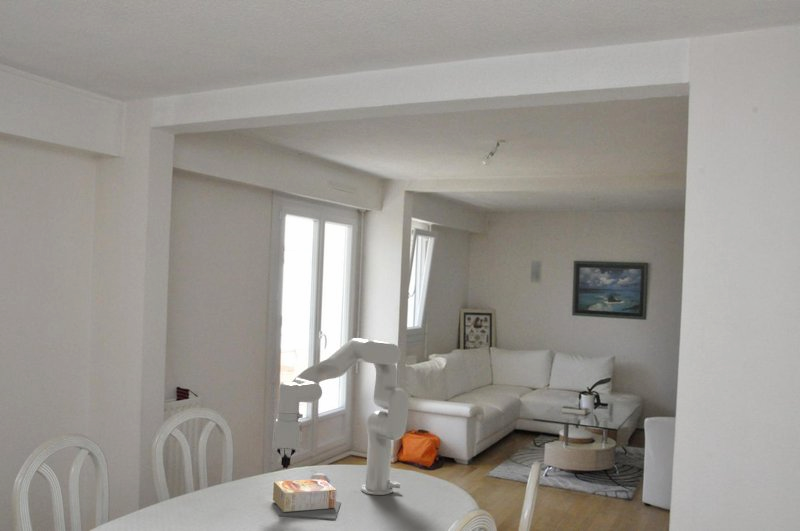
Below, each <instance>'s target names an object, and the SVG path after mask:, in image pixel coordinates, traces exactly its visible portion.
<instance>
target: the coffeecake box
mask: <svg viewBox="0 0 800 531" xmlns="http://www.w3.org/2000/svg"><path fill="white" fill-rule="evenodd" d="M272 501H273V502H274V503H275V504H276V505H277V506H278V507H279V508H280V510H281V509H282V510H283V512H291V511H303V510H316V509H329V508H335V505H336V502H337V489H336V488H335V487H334V486H332V484H331V483H330V484H329V483H328V482H327V481H326V480H324V479H313V480H309V479H300V480H299V479H297V480H285V481H284V480H282V481H281V480H280V481H279V480H278V481H273V492H272Z"/></svg>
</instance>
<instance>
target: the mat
mask: <svg viewBox="0 0 800 531" xmlns="http://www.w3.org/2000/svg"><path fill="white" fill-rule="evenodd" d="M341 503H342V502H341V501H336V505H335V508H329V509H316V510H303V511H291V512H283V510H282V509H281V508H280V511H279V512H278V517H287V518H300V519H301V518H302V519H313V520H314V519H315V520H327V521H328V520H329V521H336V519H337V516H338V513H339V510H340V508H341Z"/></svg>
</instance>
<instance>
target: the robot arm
mask: <svg viewBox="0 0 800 531" xmlns="http://www.w3.org/2000/svg"><path fill="white" fill-rule="evenodd" d="M401 357H402V351H401V349H400V347H399V346H398V345H397V344H395V343H391V342H385V341H382V340H380V341H379V340H371V339H365V338H360V337H353V338H351V339H349V340H348V341H347V342H346V343H345V344H343V345H342V346H341V347H339V349H338V350H336V351H335V352H334V353H333V354H331V355H330V356H329V357H328V358H326V359H324V360H322V361H320V362H317V363H315V364H313V365H311V366H310V367H309V366H308V368H306V369H304V370H303V371H302V372H300V374H298V375H297V376H296V377H295V378H294V379H293V380H292V381H284V382H281V383H280V384H279V387H278V402H277V403H278V405H277V418H276V419H275V422H274V427H273V434H272V445H271V451H274V452H277V453H278V455H280V457H281V463H280V464H281V466H282V469H288V468H289V466H291V457H292V456H293V455H294V454H297V453H300V452H301V451H302V441H303V436H302V434H303V432H302V421H301V419H303V413H302V414H301V413H300V403H315V402H318V401H319V400H320V399H321V397H322V395H323V389H322V387H321V386H320V385H319V384H318V383H320V382H323V381H326V380H331V379H332V380H333V379H336V378H340V377H343V376H344V375H345V374H346V373H347V372H348V371H349V370H350V369H351V368H353V367H354V366H355V365H356V364H357V363H359V362H363V363H368V364H373V366H374V368H375V382H374V391H373V402H374V404H375V406H377V407H378V408H381V409H383V410H387V412H386V411H382V410H375V411H373V412H371V413H370V414H369V415H368V418H367V421H366V431H367V452H366V453H367V454H366V468H365V472H366V473H365V483H364V484H362V485H361V487H360V489H361V491H362V492H363V493H365V494H369V495H372V496H373V495H374V496H385V495H390V494H392V493H393V490H394V489H401V483H399V482H398V481H392V480H391V477H390V476H391V472H390V471H391V462H392V460H391V459H392V441H399V440H400V439H402V438H403V437H404V436H405V433H406V429H407V424H408V418H409V417H408V415H409V408H410V407H409V406H410V398H409V395H408V392H406V390H405V389H403V388H401V387H397V385H398V384H397V380H398V369H397V363H399V361H400V360H401ZM286 450H287V454H286Z"/></svg>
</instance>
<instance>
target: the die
mask: <svg viewBox="0 0 800 531" xmlns="http://www.w3.org/2000/svg"><path fill="white" fill-rule="evenodd" d="M313 479H324V480H326V481H327V482H328V483H329V484H330V485H331V483H330V481H331V480H330V479H329V477H328V476H327V475H326V474H324V473H322V472H316V473H314V474H312V475H310V478H309V479H308V480H313Z"/></svg>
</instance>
